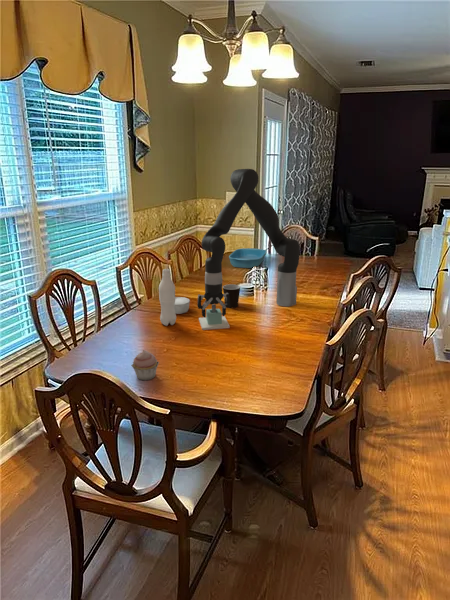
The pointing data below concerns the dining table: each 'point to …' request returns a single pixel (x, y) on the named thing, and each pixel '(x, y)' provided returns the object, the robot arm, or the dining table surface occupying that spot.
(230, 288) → the coffee mug
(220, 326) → the post stand
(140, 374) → the cupcake
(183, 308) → the ramekin
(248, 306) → the dining table surface
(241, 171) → the robot arm
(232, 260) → the casserole dish
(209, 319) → the collar
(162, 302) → the water bottle
